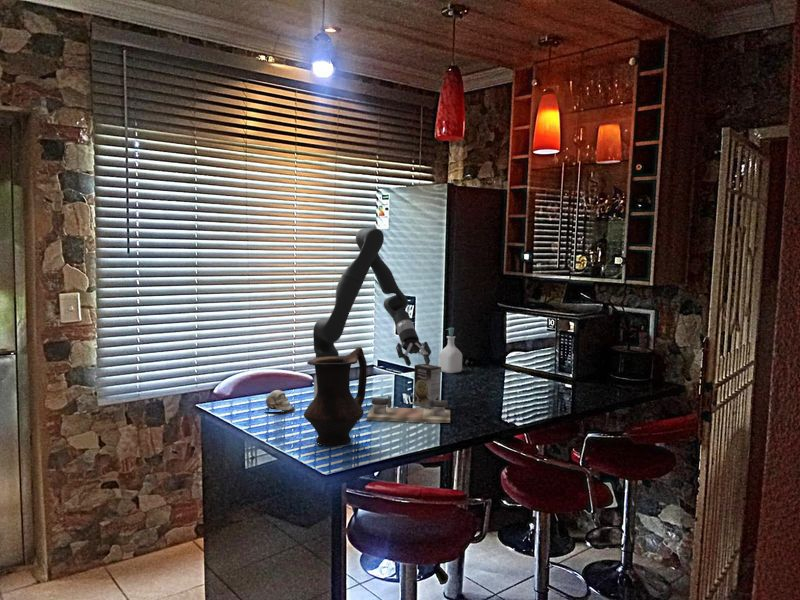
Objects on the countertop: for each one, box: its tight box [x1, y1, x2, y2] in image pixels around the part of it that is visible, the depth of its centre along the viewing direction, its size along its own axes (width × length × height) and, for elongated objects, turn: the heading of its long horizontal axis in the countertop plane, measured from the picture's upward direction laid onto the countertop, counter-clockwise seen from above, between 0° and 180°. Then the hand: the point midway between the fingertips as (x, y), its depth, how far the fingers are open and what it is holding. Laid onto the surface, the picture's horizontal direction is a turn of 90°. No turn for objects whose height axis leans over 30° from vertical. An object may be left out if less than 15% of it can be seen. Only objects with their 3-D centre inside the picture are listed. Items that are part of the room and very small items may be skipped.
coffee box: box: [413, 363, 442, 409], centre depth 245 cm, size 9×6×16 cm
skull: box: [265, 389, 295, 413], centre depth 235 cm, size 12×10×10 cm
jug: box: [303, 346, 368, 447], centre depth 195 cm, size 21×18×30 cm
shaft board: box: [366, 395, 451, 424], centre depth 228 cm, size 30×14×8 cm, turn 85°
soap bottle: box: [438, 327, 463, 374], centre depth 316 cm, size 10×10×23 cm
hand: (418, 364), depth 252 cm, fingers open, 8 cm apart
